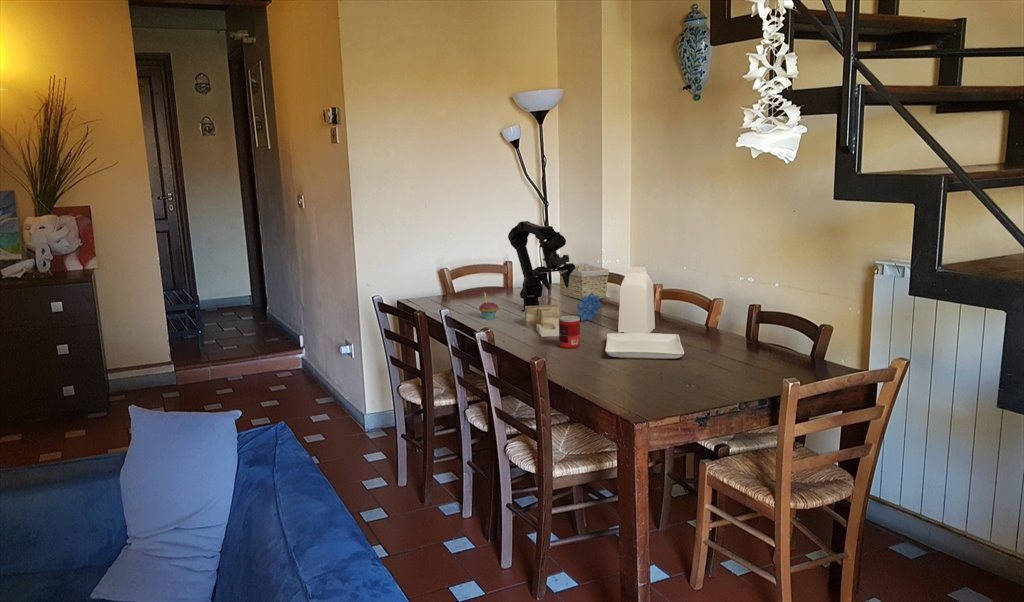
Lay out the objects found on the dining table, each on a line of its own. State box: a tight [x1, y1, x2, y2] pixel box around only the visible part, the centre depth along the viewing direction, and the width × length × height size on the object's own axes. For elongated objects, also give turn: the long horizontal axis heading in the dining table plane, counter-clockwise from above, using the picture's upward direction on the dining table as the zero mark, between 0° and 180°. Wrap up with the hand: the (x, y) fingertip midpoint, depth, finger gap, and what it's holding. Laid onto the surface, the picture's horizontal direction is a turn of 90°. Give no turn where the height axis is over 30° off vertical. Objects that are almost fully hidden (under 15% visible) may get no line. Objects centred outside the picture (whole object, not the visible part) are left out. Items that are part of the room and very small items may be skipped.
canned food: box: [558, 315, 581, 350], centre depth 283 cm, size 8×8×11 cm
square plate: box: [604, 332, 685, 360], centre depth 276 cm, size 27×27×4 cm
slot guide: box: [535, 323, 559, 337], centre depth 306 cm, size 12×8×2 cm
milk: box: [617, 265, 656, 333], centre depth 305 cm, size 12×12×26 cm
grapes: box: [576, 293, 602, 322], centre depth 325 cm, size 12×7×12 cm, turn 114°
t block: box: [524, 304, 561, 330], centre depth 315 cm, size 14×14×8 cm
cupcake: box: [478, 291, 499, 320], centre depth 335 cm, size 9×8×12 cm
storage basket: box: [557, 263, 610, 301], centre depth 380 cm, size 24×16×15 cm
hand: (558, 288), depth 326 cm, fingers open, 9 cm apart
